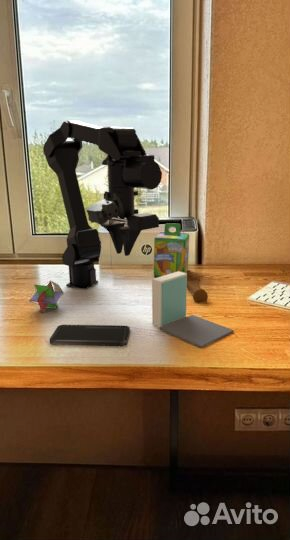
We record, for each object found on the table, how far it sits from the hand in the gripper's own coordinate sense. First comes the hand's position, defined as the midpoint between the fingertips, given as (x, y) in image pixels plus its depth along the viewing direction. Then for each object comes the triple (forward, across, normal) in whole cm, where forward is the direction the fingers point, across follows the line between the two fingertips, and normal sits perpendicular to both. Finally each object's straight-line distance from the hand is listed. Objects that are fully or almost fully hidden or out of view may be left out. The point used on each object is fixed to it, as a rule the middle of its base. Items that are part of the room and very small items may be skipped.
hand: (123, 254), depth 95 cm
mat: (+12, +22, 0) cm, 25 cm away
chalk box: (+12, -9, +26) cm, 30 cm away
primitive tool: (+13, +5, +20) cm, 24 cm away
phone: (+13, +10, -17) cm, 23 cm away
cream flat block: (+12, +15, 0) cm, 19 cm away
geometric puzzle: (+12, -9, -16) cm, 22 cm away
